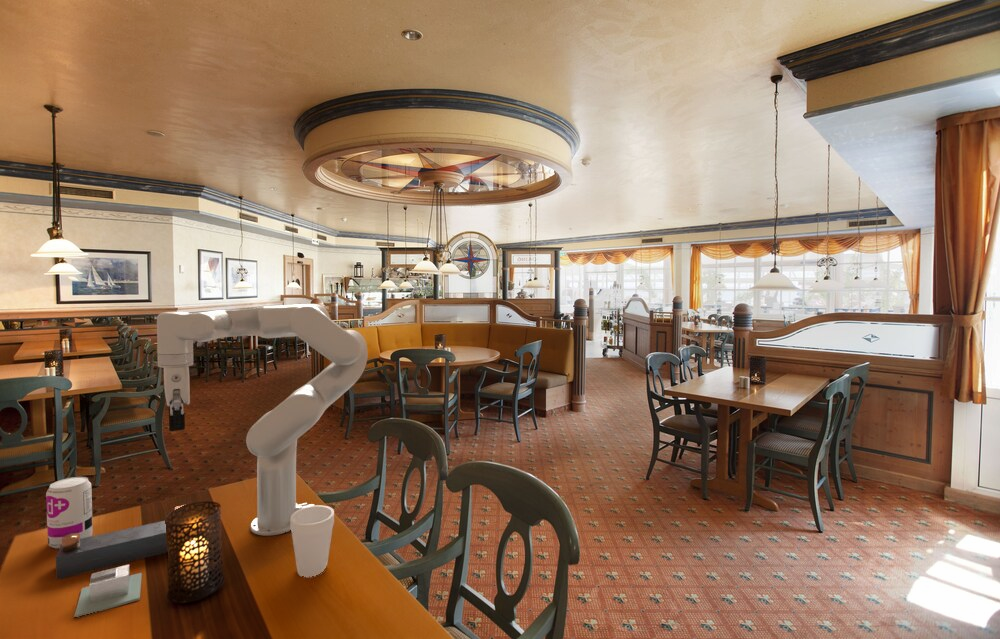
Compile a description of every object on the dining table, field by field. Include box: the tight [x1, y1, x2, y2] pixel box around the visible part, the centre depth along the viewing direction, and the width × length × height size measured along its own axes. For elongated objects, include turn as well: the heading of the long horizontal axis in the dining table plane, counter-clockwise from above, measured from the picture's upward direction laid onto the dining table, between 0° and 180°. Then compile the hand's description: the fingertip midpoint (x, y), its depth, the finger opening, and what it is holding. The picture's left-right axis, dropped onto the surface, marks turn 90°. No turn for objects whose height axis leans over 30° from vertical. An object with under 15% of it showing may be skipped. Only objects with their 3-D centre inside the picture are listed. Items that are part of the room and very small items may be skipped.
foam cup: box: [290, 504, 335, 578], centre depth 107 cm, size 10×9×13 cm
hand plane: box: [55, 504, 185, 580], centre depth 111 cm, size 24×7×9 cm, turn 126°
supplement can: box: [45, 476, 94, 550], centre depth 116 cm, size 8×8×15 cm
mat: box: [73, 572, 143, 617], centre depth 97 cm, size 10×10×1 cm
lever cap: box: [89, 564, 130, 604], centre depth 97 cm, size 6×4×5 cm
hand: (176, 425), depth 121 cm, fingers open, 9 cm apart
